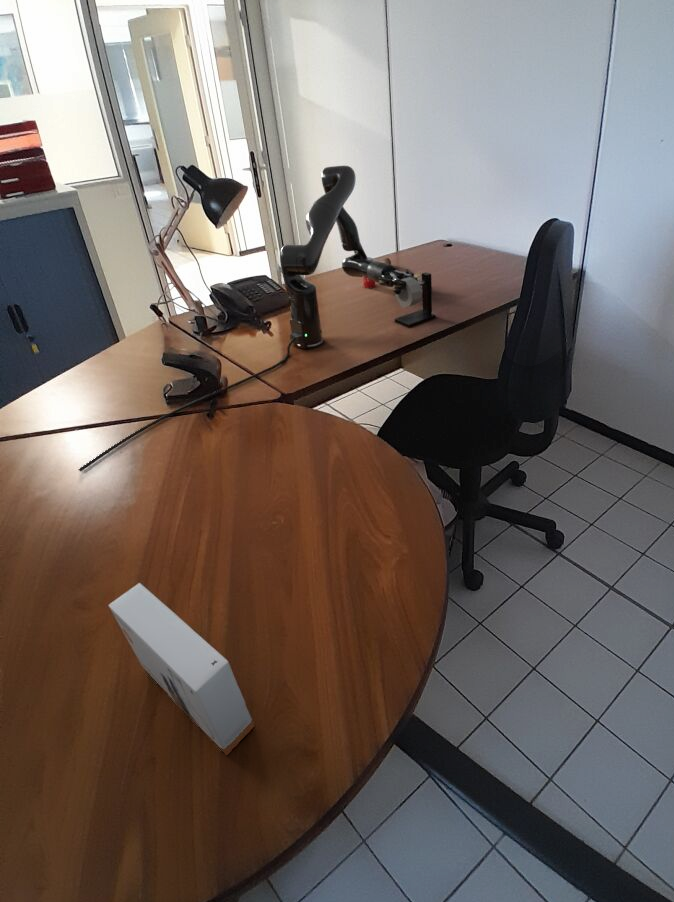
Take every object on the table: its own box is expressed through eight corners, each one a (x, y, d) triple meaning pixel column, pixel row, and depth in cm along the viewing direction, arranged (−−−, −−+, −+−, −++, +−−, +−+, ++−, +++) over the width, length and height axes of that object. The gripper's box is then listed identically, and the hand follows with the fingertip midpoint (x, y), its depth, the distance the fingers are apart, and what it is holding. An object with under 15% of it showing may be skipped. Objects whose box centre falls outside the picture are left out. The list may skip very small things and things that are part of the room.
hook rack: (404, 329, 194) (402, 285, 186) (390, 323, 199) (387, 280, 191) (436, 317, 202) (436, 275, 194) (422, 312, 208) (421, 270, 200)
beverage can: (370, 289, 234) (368, 261, 227) (361, 287, 236) (358, 259, 230) (377, 285, 237) (376, 258, 231) (368, 283, 240) (366, 256, 234)
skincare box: (140, 673, 83) (105, 603, 75) (172, 647, 87) (142, 578, 78) (224, 761, 72) (194, 691, 63) (256, 728, 75) (233, 657, 67)
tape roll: (412, 310, 192) (411, 283, 187) (395, 303, 198) (393, 277, 193) (422, 306, 195) (421, 280, 190) (404, 300, 201) (403, 274, 196)
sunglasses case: (373, 265, 262) (379, 252, 259) (386, 272, 264) (392, 260, 261) (370, 276, 247) (377, 263, 244) (384, 284, 248) (391, 271, 245)
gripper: (365, 267, 196) (395, 277, 185) (395, 258, 204) (426, 267, 193) (366, 287, 200) (396, 298, 189) (396, 278, 208) (426, 288, 196)
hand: (411, 282), depth 191 cm, fingers closed on tape roll, 4 cm apart
